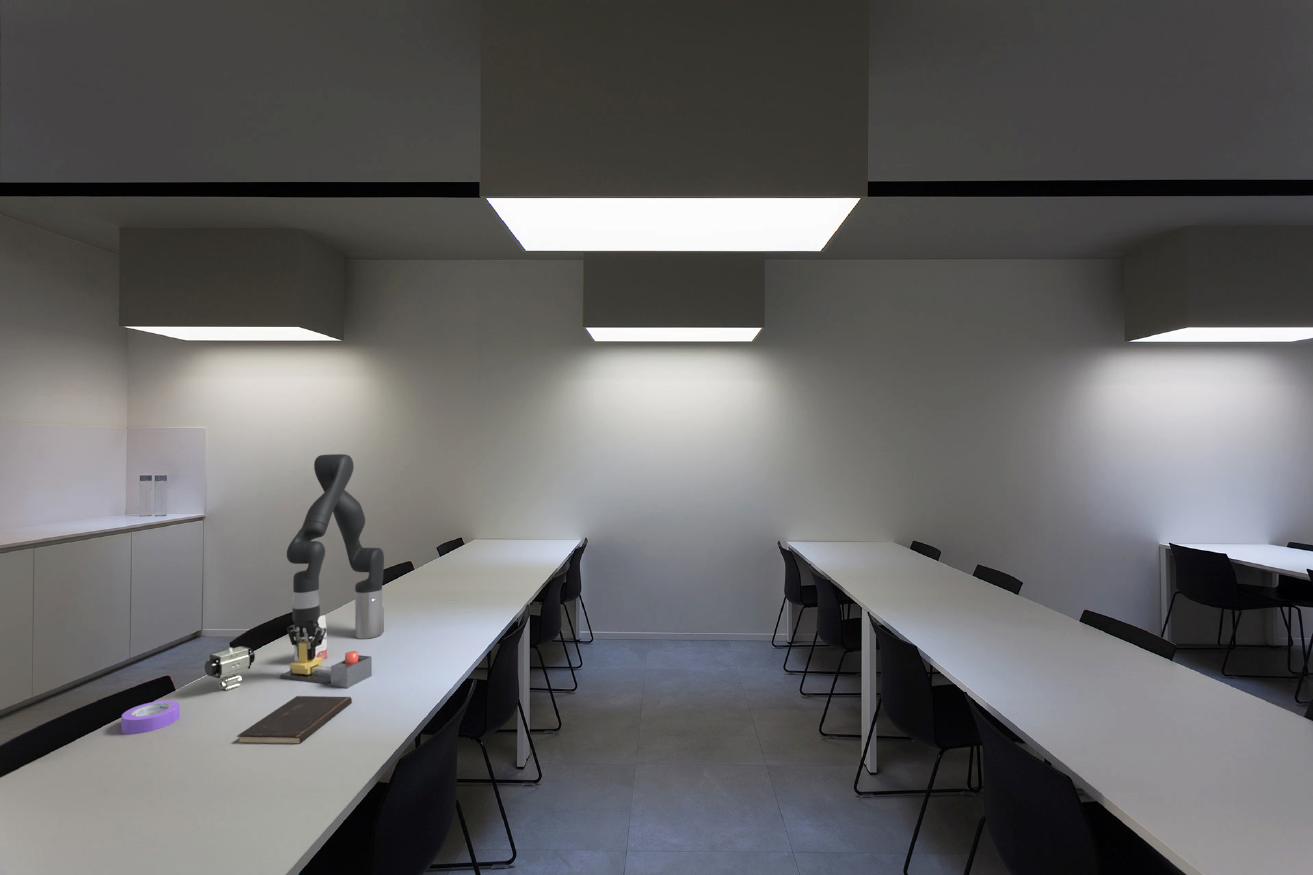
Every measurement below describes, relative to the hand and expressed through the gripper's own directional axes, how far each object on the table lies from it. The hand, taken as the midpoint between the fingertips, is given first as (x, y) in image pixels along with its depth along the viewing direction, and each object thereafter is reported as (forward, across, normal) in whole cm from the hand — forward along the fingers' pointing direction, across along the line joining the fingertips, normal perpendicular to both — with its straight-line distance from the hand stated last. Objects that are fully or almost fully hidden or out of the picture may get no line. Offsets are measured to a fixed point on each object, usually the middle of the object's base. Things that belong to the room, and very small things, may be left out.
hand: (306, 658), depth 191 cm
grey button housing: (+5, -17, 0) cm, 18 cm away
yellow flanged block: (+4, 0, 0) cm, 4 cm away
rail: (+5, -3, 0) cm, 6 cm away
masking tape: (+6, +12, +37) cm, 40 cm away
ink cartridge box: (+5, +10, -11) cm, 16 cm away
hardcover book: (+6, -24, +26) cm, 36 cm away
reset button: (+2, -17, 0) cm, 17 cm away
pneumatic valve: (+5, +14, +14) cm, 20 cm away
